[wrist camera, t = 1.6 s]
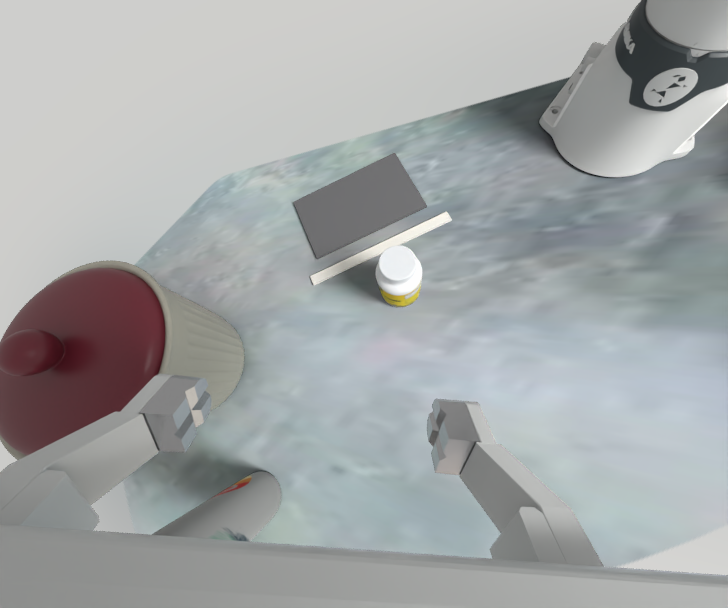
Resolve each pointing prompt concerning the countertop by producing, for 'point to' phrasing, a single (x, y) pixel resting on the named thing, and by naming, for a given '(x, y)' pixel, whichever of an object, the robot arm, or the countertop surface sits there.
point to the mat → (358, 205)
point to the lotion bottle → (231, 511)
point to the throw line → (380, 248)
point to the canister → (104, 352)
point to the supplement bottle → (399, 276)
